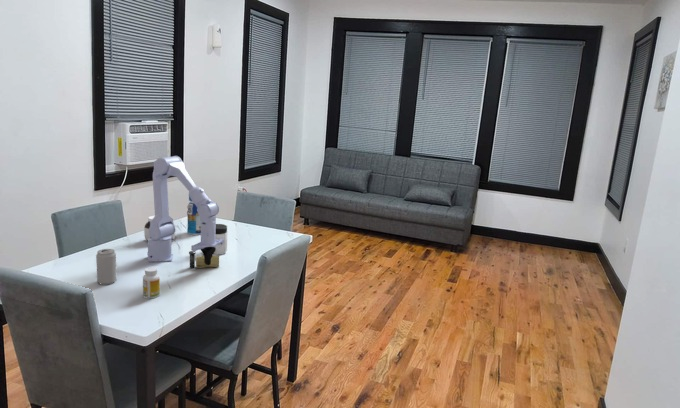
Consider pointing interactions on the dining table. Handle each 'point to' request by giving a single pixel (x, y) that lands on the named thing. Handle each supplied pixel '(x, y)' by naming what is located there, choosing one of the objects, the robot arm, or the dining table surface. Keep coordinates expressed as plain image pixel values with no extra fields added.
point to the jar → (221, 234)
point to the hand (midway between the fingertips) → (207, 264)
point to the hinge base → (192, 259)
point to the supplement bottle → (151, 283)
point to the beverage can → (106, 266)
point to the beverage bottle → (193, 219)
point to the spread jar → (147, 226)
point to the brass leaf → (201, 264)
